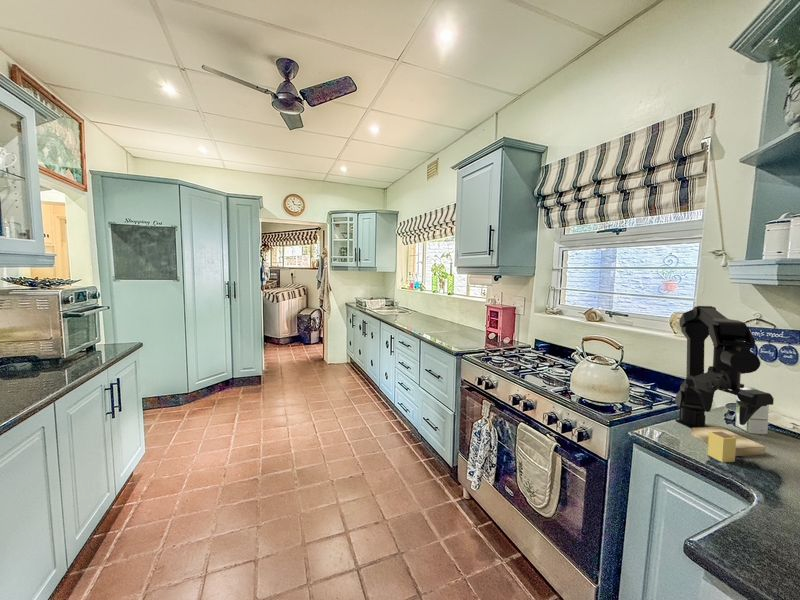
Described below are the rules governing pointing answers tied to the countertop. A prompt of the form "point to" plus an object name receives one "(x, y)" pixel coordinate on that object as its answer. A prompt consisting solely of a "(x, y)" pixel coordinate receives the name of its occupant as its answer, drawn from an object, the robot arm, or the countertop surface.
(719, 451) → the mustard block
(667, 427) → the countertop surface
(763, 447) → the cutting board
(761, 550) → the countertop surface
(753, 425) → the syrup box
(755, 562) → the countertop surface
